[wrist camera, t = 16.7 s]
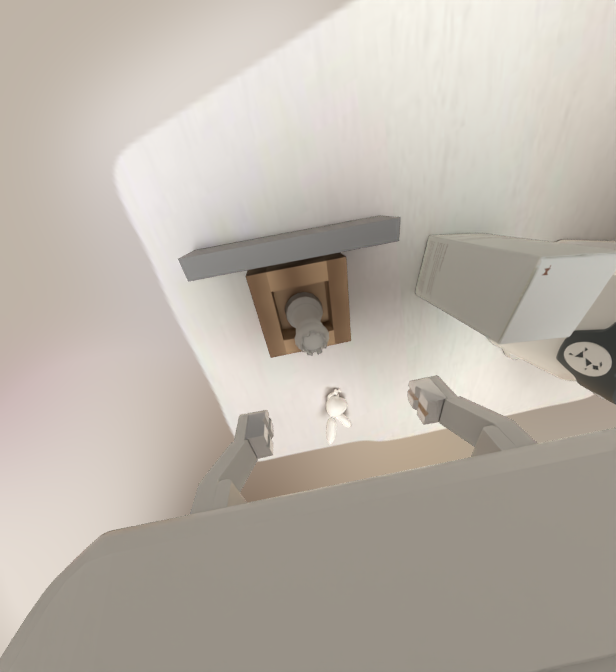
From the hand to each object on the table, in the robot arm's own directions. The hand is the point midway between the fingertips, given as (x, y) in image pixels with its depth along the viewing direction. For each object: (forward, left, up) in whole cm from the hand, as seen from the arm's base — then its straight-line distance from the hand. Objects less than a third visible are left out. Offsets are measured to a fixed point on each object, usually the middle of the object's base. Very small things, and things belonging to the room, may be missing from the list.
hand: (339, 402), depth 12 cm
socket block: (0, 0, -17) cm, 17 cm away
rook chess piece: (0, +1, -16) cm, 16 cm away
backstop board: (0, -6, -17) cm, 18 cm away
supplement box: (-19, 0, -17) cm, 25 cm away
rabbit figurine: (-2, +21, -17) cm, 27 cm away
